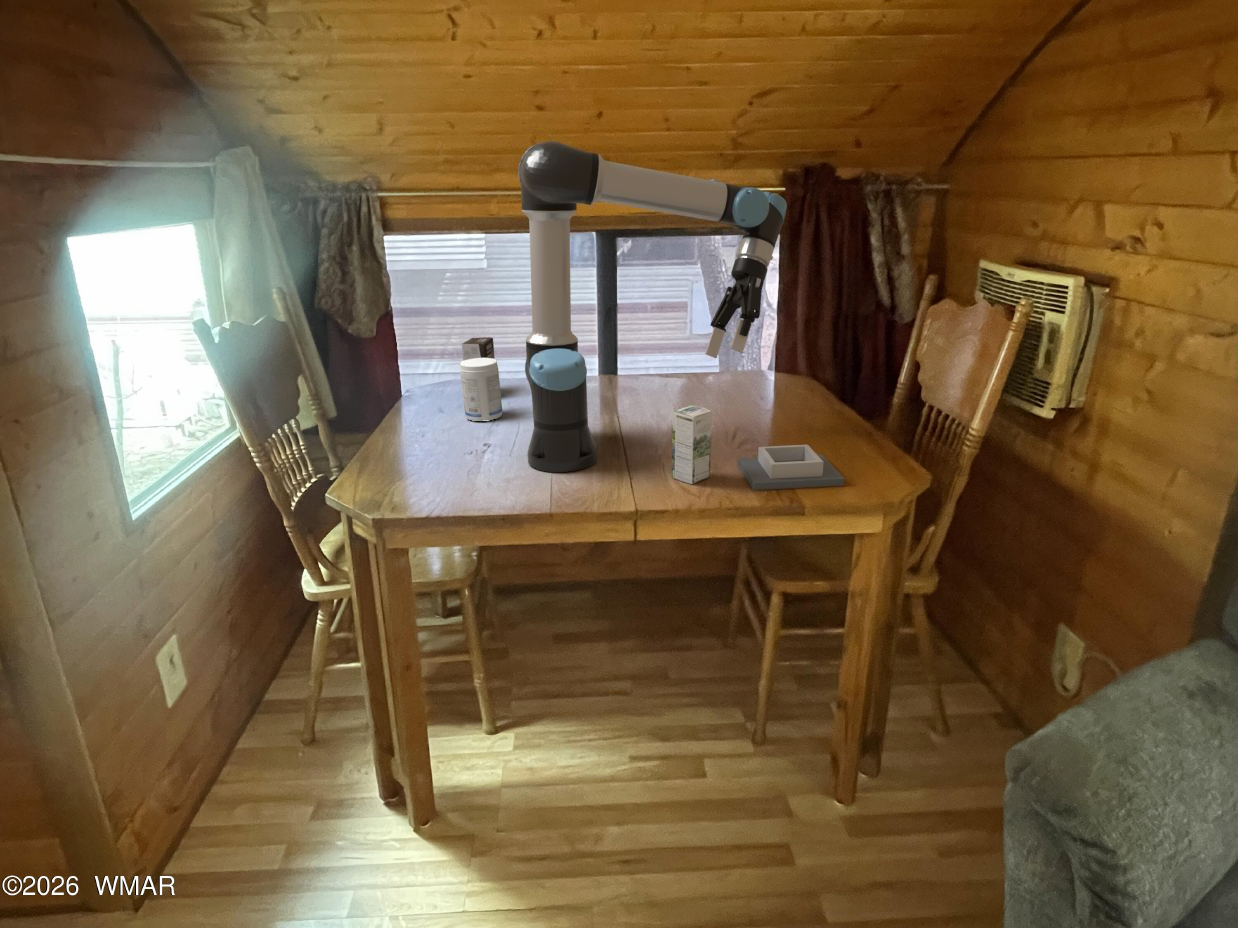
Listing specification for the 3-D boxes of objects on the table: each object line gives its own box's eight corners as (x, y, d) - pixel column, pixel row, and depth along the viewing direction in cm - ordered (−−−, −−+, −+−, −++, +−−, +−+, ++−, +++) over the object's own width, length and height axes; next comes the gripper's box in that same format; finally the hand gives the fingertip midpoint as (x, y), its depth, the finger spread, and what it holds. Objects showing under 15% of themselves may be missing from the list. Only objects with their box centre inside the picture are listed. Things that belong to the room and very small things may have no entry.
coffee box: (488, 401, 218) (483, 343, 212) (466, 401, 219) (460, 343, 213) (498, 392, 226) (493, 336, 221) (476, 392, 227) (471, 336, 222)
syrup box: (689, 470, 165) (689, 404, 160) (711, 477, 161) (712, 409, 156) (671, 478, 161) (670, 410, 156) (693, 485, 157) (693, 416, 152)
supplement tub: (498, 410, 210) (493, 355, 205) (506, 420, 201) (502, 363, 196) (461, 414, 207) (456, 359, 201) (468, 425, 198) (463, 367, 193)
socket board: (753, 490, 154) (754, 468, 153) (738, 465, 168) (738, 445, 166) (843, 485, 156) (845, 464, 154) (821, 461, 169) (822, 441, 167)
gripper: (794, 258, 165) (763, 354, 164) (741, 279, 189) (715, 363, 187) (763, 244, 162) (732, 341, 161) (714, 267, 186) (687, 352, 185)
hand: (723, 353), depth 174 cm, fingers open, 13 cm apart
